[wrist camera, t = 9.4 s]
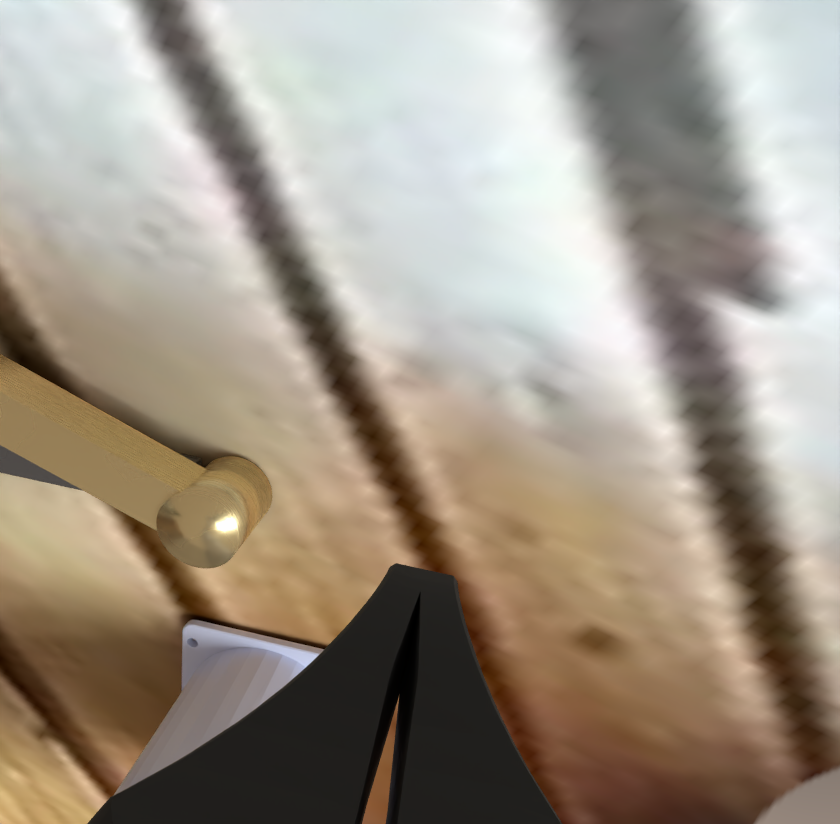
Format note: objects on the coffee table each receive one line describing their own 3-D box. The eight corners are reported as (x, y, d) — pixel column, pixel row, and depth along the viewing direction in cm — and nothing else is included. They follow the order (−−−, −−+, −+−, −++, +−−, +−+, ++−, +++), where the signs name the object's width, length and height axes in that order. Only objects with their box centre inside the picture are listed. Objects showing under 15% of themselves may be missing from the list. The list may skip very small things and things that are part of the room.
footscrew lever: (283, 480, 21) (251, 521, 19) (254, 535, 22) (219, 582, 20) (-54, 290, 20) (-144, 302, 18) (-68, 357, 22) (-155, 378, 19)
